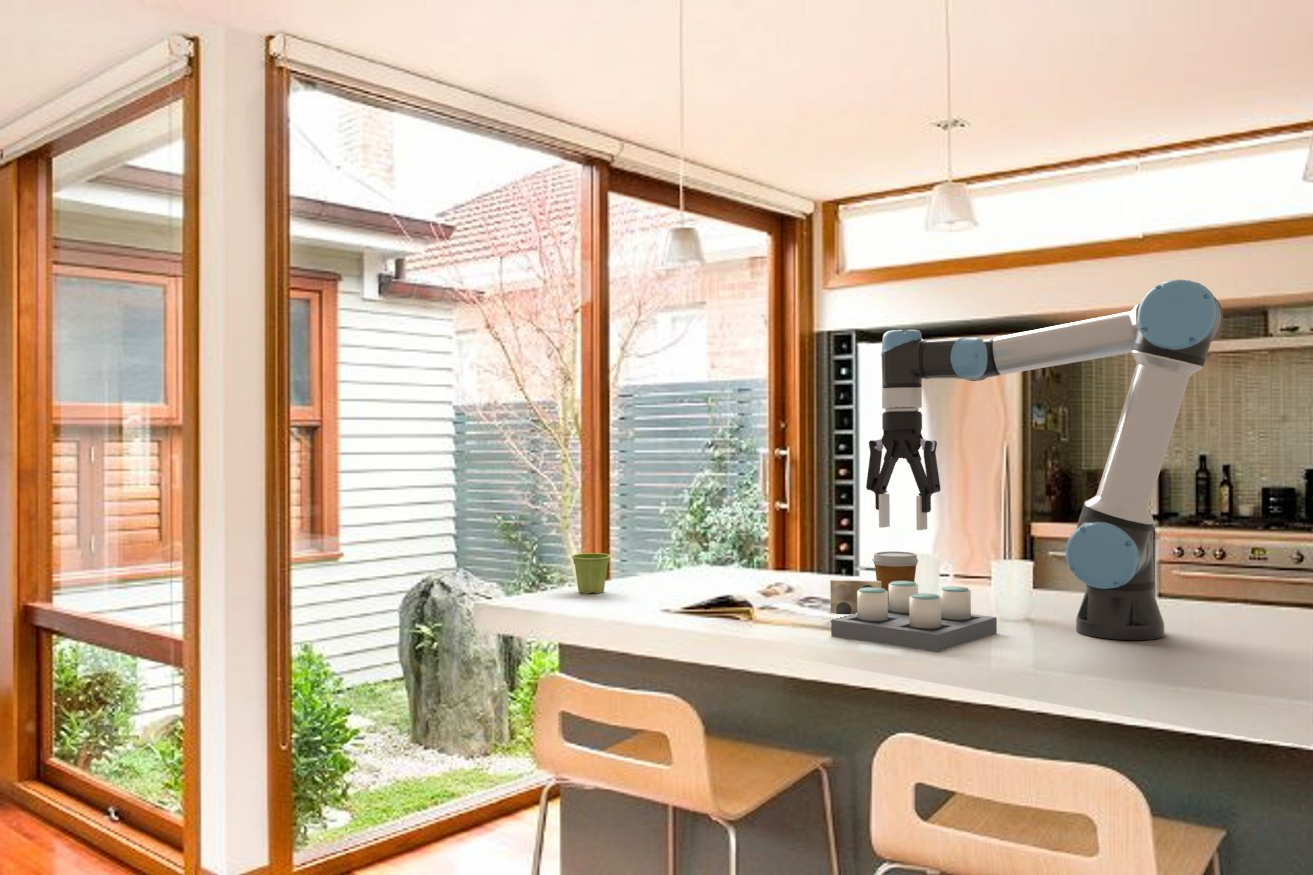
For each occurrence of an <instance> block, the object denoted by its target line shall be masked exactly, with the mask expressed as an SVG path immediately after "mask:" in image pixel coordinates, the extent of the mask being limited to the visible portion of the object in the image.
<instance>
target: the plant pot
mask: <svg viewBox="0 0 1313 875" xmlns="http://www.w3.org/2000/svg"><path fill="white" fill-rule="evenodd" d="M611 557H612V555H611V554H609V553H608V554H607V553H600V552H598V553H597V552H590V553H584V552H583V553H576V554H573V555H571V559H572V560H573V565H574V568H575V570H574V571H575V576H576V584H577V591H578V592H579V593H580V594H591V593H595V594H601V593H604V592H605V587H606V586H605V585H606V578H607V570H608V564H609V561H610V558H611Z"/></svg>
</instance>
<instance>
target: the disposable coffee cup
mask: <svg viewBox="0 0 1313 875" xmlns="http://www.w3.org/2000/svg"><path fill="white" fill-rule="evenodd" d="M871 560H872V562H873V564H874V572H875V578H876V581H881V588H883V589H885V590H886V591H888V606H889V583H891V582H893V581H911V582H916V581H915V579H916V571H917V570H916V569H917V565H918V562H919V559H918V557H917V554H916V553H915V552H910V551H897V550H896V551H877V552H874V554H873V558H872V559H871Z"/></svg>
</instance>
